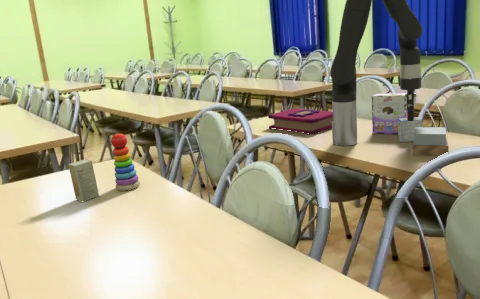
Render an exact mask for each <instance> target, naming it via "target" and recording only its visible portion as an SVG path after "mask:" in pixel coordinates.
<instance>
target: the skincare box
mask: <svg viewBox="0 0 480 299" xmlns="http://www.w3.org/2000/svg"><path fill="white" fill-rule="evenodd" d="M68 169H69V173H70V178H71V183H72V188H73V192H74V196H75V200H76V199H77V200H76V201H78V200H79V201H78V202H80V201H81V202H80V203H83V202H82V201H84V202H87V201H90V200H92V199H91V198H93V199H95V198H98V197H100V192H99V188H98V184H97V179H96V173H95V168H94V164H93V160H91V159H87V158H84V159H80V160H78V161H74V162H71V163H68ZM97 196H98V197H97ZM94 197H95V198H94ZM89 199H90V200H89ZM86 200H87V201H86Z"/></svg>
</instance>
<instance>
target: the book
mask: <svg viewBox="0 0 480 299" xmlns="http://www.w3.org/2000/svg"><path fill="white" fill-rule="evenodd" d="M267 117H268V119H273V124H270V125H269V126H268V129H269V128H276V129H283V130H291V131H297V132H296V133H298V132H304V133H303V134H305V133H309V134H308V135H316V134H315V133H317V134H319V133H321V131H322V132H325V131H328V130H330V128H331V129H332V121H333V111H330V110H329V111H328V110H318V109H317V110H316V109H307V108H295V107H294V108H289V109H285V110H282V111H279V112H275V113H271V114H268V116H267ZM276 129H275V130H276ZM327 129H328V130H327ZM283 130H282V131H283ZM324 130H325V131H324ZM318 132H319V133H318Z"/></svg>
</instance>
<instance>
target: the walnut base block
mask: <svg viewBox="0 0 480 299" xmlns="http://www.w3.org/2000/svg"><path fill="white" fill-rule="evenodd" d="M449 146H450V145H449V141H448V138H447V137H446V146H436V145H414V144H413V152H412V154H413V156H416V157H417V156H422V157H423V156H426V157H427V156H428V157H433V156H434V157H440V156H439V155H442V154H444V153H446V152H448V153H449Z"/></svg>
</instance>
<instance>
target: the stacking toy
mask: <svg viewBox="0 0 480 299" xmlns="http://www.w3.org/2000/svg"><path fill="white" fill-rule="evenodd" d="M127 143H128V138H127V136H126V135H125V134H123V133H115V134H113V135H112V137H111V138H110V144H111V145H112V147H113V148H114V149H113V151H112V153H113V154H114V156H113V159H114V162H113V165H114V177H115V179H114V180H115V189H116V190H117V191H120V190H121V192H126V191H125V190H128V191H131V189H132V190H135V189H137V188H139V186H140V184H141V183H140V182H141V181H140V180H139V175H138V174H137V170H136V169H135V167H136V166H135V165H134V163H133V159H132V158H131V157H132V155H131V153H130V152H129V151H130V149H129V147H128V146H127ZM136 187H137V188H136ZM134 188H135V189H134Z"/></svg>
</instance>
